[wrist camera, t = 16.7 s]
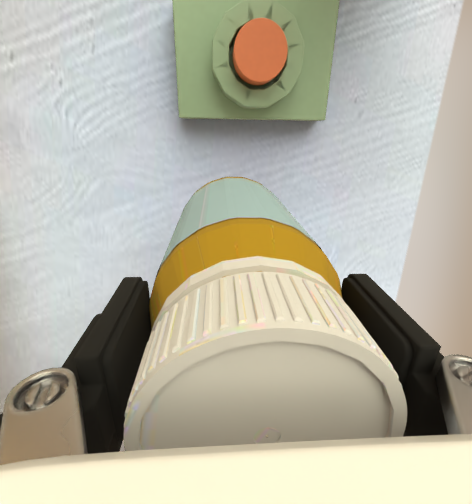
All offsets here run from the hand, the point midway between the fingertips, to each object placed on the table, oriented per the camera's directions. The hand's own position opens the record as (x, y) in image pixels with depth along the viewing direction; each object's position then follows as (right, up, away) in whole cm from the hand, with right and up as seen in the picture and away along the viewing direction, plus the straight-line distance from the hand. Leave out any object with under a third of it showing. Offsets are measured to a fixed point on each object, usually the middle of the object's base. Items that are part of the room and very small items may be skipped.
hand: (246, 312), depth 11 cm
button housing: (+1, +18, +14) cm, 22 cm away
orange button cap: (+1, +16, +10) cm, 19 cm away
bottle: (-1, +4, +10) cm, 10 cm away
